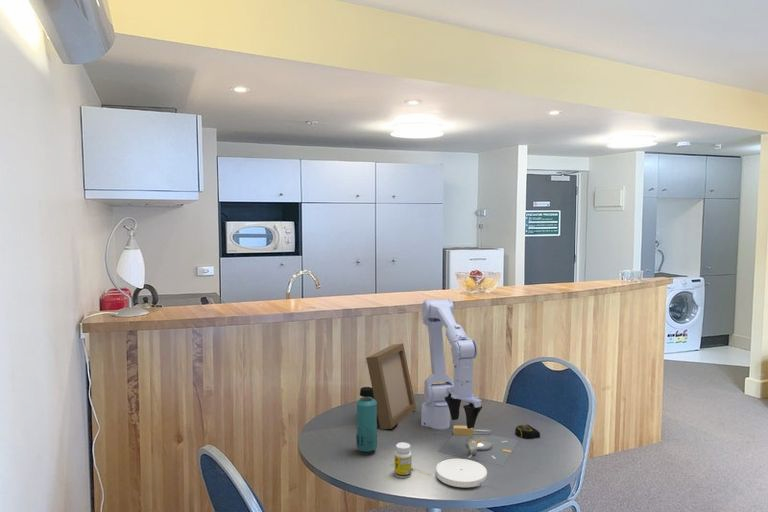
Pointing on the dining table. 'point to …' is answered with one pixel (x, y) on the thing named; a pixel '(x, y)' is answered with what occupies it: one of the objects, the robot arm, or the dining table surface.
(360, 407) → the beverage bottle
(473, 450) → the silver rounded piece
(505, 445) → the panel
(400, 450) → the supplement bottle
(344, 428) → the dining table surface
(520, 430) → the tape measure
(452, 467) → the plastic lid
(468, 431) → the screwdriver
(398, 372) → the photo frame
